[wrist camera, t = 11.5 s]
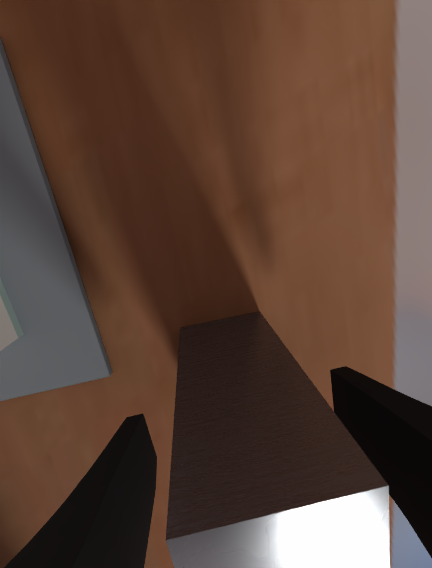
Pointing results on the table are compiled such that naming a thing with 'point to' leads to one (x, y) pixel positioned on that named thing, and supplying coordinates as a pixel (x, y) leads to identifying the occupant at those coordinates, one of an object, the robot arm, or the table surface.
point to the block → (265, 461)
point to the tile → (7, 320)
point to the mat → (39, 268)
